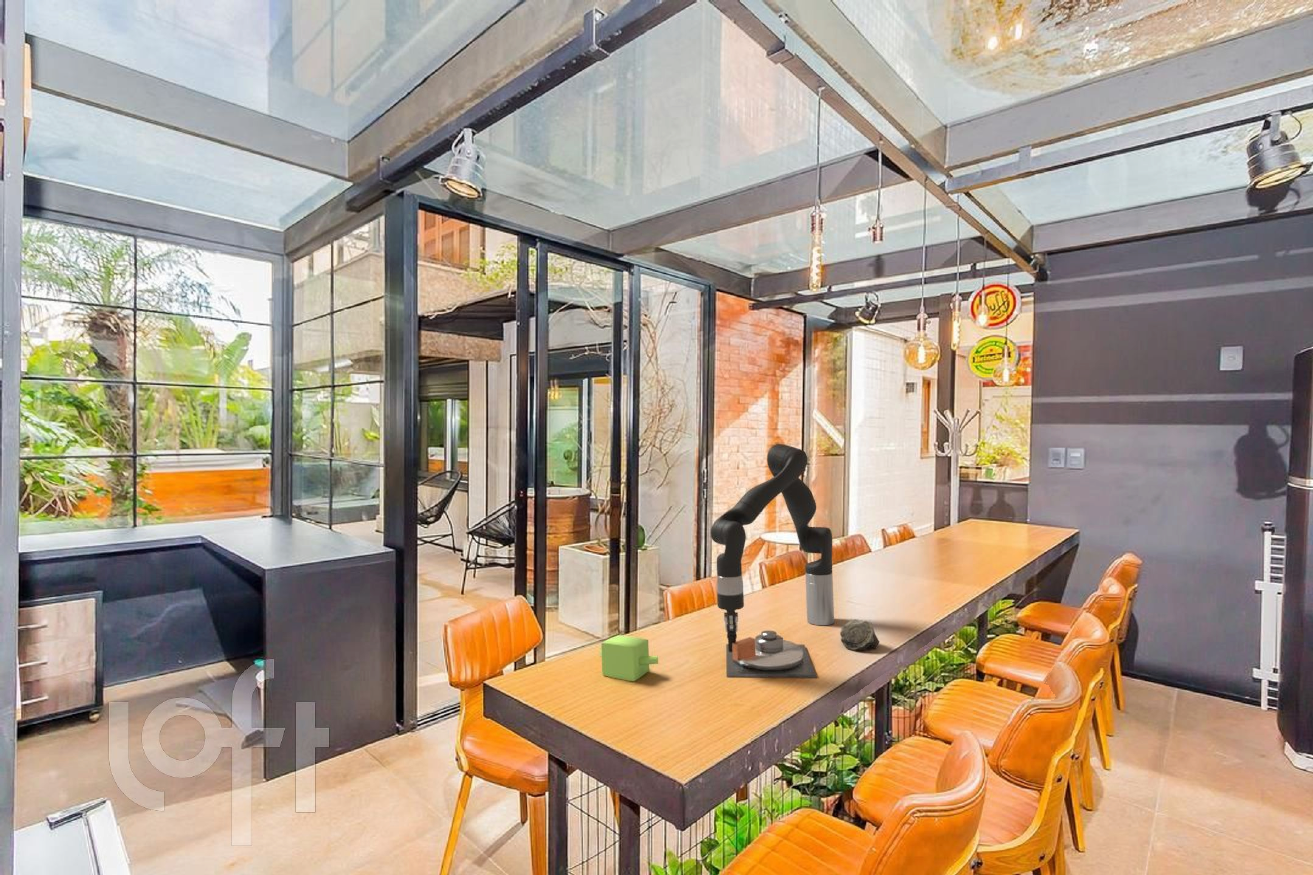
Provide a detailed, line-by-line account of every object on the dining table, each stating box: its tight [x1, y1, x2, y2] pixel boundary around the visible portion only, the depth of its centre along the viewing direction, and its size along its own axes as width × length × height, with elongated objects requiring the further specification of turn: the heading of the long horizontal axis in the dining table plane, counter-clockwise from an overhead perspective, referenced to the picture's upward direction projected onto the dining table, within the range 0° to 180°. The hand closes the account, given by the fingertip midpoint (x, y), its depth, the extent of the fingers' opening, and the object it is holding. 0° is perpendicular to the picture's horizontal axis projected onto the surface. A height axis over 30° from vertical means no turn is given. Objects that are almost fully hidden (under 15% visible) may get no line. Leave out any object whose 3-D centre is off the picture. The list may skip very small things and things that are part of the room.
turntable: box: [732, 636, 803, 670], centre depth 170 cm, size 20×23×7 cm
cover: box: [754, 629, 784, 653], centre depth 172 cm, size 8×8×5 cm
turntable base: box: [725, 643, 817, 679], centre depth 171 cm, size 24×24×1 cm
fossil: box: [839, 618, 880, 652], centre depth 181 cm, size 11×9×10 cm
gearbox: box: [599, 634, 659, 682], centre depth 166 cm, size 18×10×10 cm, turn 59°
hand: (732, 651), depth 167 cm, fingers closed
